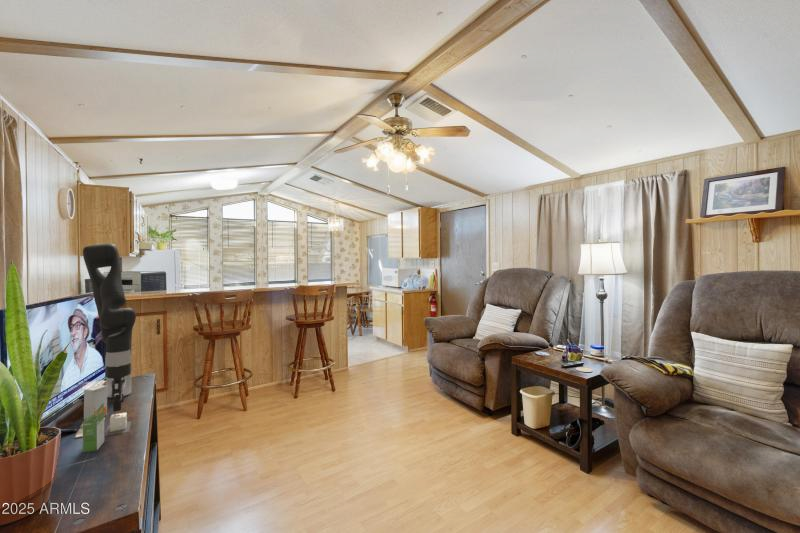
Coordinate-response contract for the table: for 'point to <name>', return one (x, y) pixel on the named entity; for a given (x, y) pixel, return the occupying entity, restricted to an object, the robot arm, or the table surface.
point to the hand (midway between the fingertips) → (118, 406)
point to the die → (118, 421)
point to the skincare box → (95, 400)
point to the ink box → (93, 431)
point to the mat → (118, 430)
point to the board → (80, 431)
